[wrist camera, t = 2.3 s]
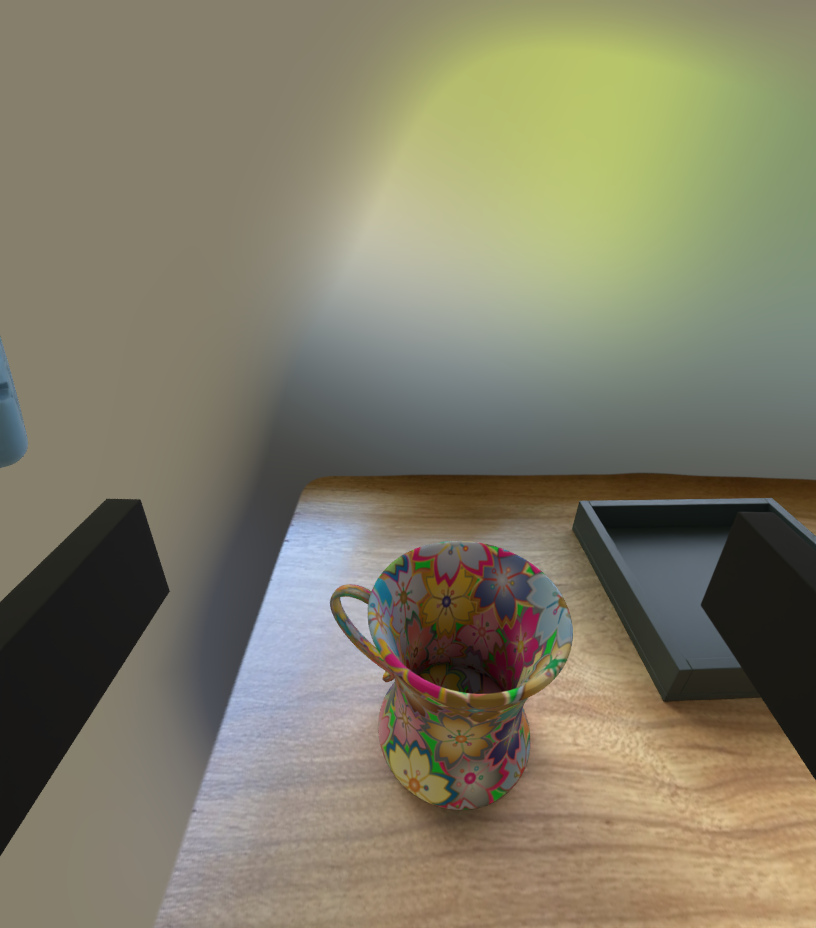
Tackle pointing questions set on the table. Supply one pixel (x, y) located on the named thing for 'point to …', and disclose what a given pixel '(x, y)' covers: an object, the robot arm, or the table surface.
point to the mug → (460, 665)
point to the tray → (671, 585)
